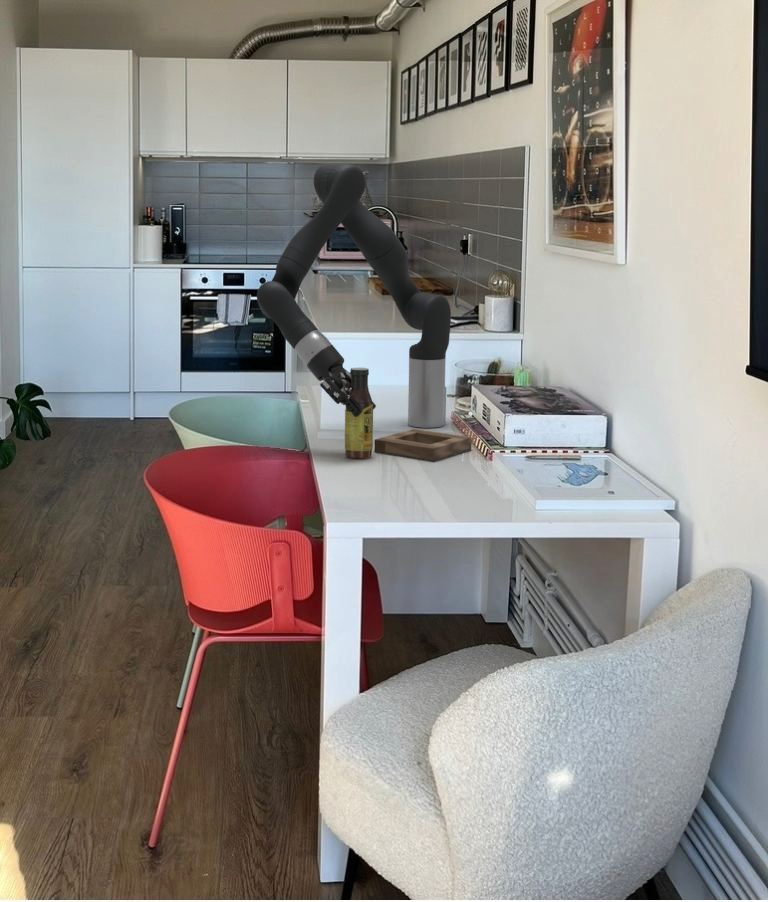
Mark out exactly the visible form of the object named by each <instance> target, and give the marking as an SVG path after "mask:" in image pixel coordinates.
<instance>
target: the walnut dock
mask: <svg viewBox="0 0 768 902" xmlns="http://www.w3.org/2000/svg"><path fill="white" fill-rule="evenodd" d="M472 438H473V437H472V436H465V435H458V434H452V433H444V432H438V431H431V430H425V429H423V430H422V429H418V428H417V429H416V428H411V429H409V430H405V431H401V432H397V433H393V434H389V435H386V436H383V437H379V438H376V439H374V448H373V449H374V453H376V454H383V455H387V456H394V457H402V458H406V459H413V460H419V461H424V462H425V461H426V462H432V463H435V462H438V461H441V460H444V459H447V458H450V457H454V456H457V455H460V454H463V453H466V452H469V451H472V440H473V439H472Z"/></svg>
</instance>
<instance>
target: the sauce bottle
mask: <svg viewBox="0 0 768 902" xmlns="http://www.w3.org/2000/svg"><path fill="white" fill-rule="evenodd" d="M349 372H350V374H351V388H350V389H351V390H350V392H349V393H350V395H351V397H352V398H353V399H354V400H355V402H356V403H357V404H358V405H359V406H360V408H361V409H362V413H361V414H360V415H359V416H357V417H355V416H354V415H353V414H352V413H351V412H350V411H349V409H348V408H347V407H346V406H345V409H344V455H345V457H346V458H349V459H357V460H358V459H359V460H361V459H362V460H363V459H368V458H371V457H372V452H373V449H374V447H373V442H374V441H373V439H374V437H373V436H374V409H373V402H374V401H373V399H372V397H371V393H370V391H369V390H370V389H369V390H368V388H369V382H368V381H369V375H370V374H369V373H370V371H369V368H366V367H351V368H350V371H349ZM352 398H351V399H352ZM372 401H373V402H372Z"/></svg>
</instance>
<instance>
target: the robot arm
mask: <svg viewBox="0 0 768 902" xmlns="http://www.w3.org/2000/svg"><path fill="white" fill-rule="evenodd" d="M313 176H314V177H313V187H314V191H315V193H316V195H317V197H318V198H319V200H321V202H322V203H323V205H322V206H321V207H320V209H319V210H318V211H317V213H316V214H315V215H314V216H313V217H312V218H311V219H310V220H309V221H308V222H307V223H306V224H305V225H303V226H302V227H301V228H300V229H299V230H298V232H296V233H295V235H294V236H293V237H292V238H291V240H290V241H289V242H288V244H287V246H286V247H285V249H284V251H283V252H282V254H281V256H280V258H279V259H278V262H277V264H276V265H275V273H274V275H273V277H272V279H271V280H269V281H265V282H264V283H262V284H261V285H260V286H259V288H258V289H257V293H256V302H257V304H258V307H259V309H260V311H261V313H262V314H263V315H264V316H265V317H266V318H268V319H271V320H272V321H273V323H274V324H275V325H276V326H277V327H278V329H279V331H280V332H281V334H282V337H284V339H285V340H286V342H288V344H289V345H290V346H291V348H293V350H294V351H295V352H296V354H297V355H298V357H299V359H300V360H301V362H302V363H303V364H304V365H305V366H306V368H307V369H308V370H309V371H310V373H312V375H313V376H314V377H315V379H316V380H317V381H319V382H321V383H319V386H320V387H321V388H322V390H324V392H325V393H326V394H327V395H328V396H329V397H330V398H331V399H332V401H334V402H335V403H336V404H337V405H339V404H341V406H342V405H343V406H345V408H346V407H347V408H348V409H349V411H350V412H351V413H352V414H353V415H354V416H355V417H357V416H359V415H360V414H361V413H362V409H361V408H360V406H359V405H358V404H357V403H356V402H355V400H354V399H353V398H352V397H351V395H350V393H349V392H350V390H351V374H350V371H348V370H347V369H345V367H344V363H345V358H344V357H343V355H342V354H341V353H340V352H339V350H337V348H336V347H335V346H334V345H333V344H332V343H331V342H330V340H329V338H327V337H326V335H325V334H323V333H322V332H321V331H320V330H319V329H318V328H317V326H316V325H315V324H314V323H313V322H312V320H311V319H310V318H309V317H308V316H307V315H306V314H305V313H304V311H302V309H301V307H300V305H299V304H298V302H296V297H297V295H298V292H299V290H300V288H301V284H303V283H302V282H303V281H304V279H305V278H306V277H307V275H308V273H309V271H310V269H311V268H312V266H313V264H314V263H315V261H316V259H317V257H318V255H319V254H320V252H321V251H322V250H323V248H324V246H325V244H326V243H327V242H328V240H329V239H330V238H331V236H332V235H333V234H334V233H335V231H336V230H337V229H338V227H339V226H340V225H342V226H343V227H344V229H345V231H346V232H347V234H348V236H349V237H350V238H351V240H352V241H353V242H354V244H355V245H356V247H357V248H358V250H359V251H360V252H361V254H362V256H363V257H364V260H366V262H367V263H368V265H370V267H371V269H372V270H373V271H374V272H375V274H376V275H377V277H378V278H379V279H380V281H381V283H382V284H383V286H384V287H385V288H386V290H387V291H388V293H389V295H390V296H391V298H392V300H393V302H394V303H395V305H396V307H397V309H398V310H399V313H400V315H401V317H402V318H403V319H404V322H405V323H406V324H407V325H408V326H409V327H410V328H413V329H415V330H419V331H421V336H420V337H421V338H420V340H419V341H418V342H417V343H414V344H411V346H410V347H409V351H408V394H407V395H408V397H407V399H408V400H407V401H408V402H407V405H408V406H407V424H408V426H410V427H414V428H424V429H427V428H440V427H443V426H444V425H445V424H446V418H447V417H446V415H447V387H446V360H447V359H446V357H447V354H446V353H447V350H448V348H449V345H450V332H451V321H452V312H451V311H452V310H451V304H450V302H449V301H448V299H447V298H446V297H445V296H443V295H441V294H435V293H434V294H433V293H425V292H422V291H421V290H420V289H419V287H418V286H417V285H416V284H415V282H414V281H413V279H412V278H411V276H410V273H409V260H408V253H407V251H406V248H405V246H404V245H403V244H402V242H401V241H400V239H399V237H398V236H397V235H396V233H395V231H393V229H392V228H391V227H390V226H389V225H388V224H386V222H385V221H383V220H382V219H381V218H380V217H378V216H377V215H376V214H375V213H373V212H372V211H371V210H370V209H368V208H367V207H366V206H365V205H364V204H363V202H362V201H361V198H362V197H363V195H364V192H365V190H366V186H367V182H366V177H365V176H366V175H365V173H364V172H363V170H362V169H361V168H360V167H358V166H357V165H354V164H351V163H350V164H349V163H338V162H334V163H333V162H332V163H325V164H322V165H320V166H319V167H318V168H317V169H316V170H315V173H314V175H313ZM368 390H370V388H369V387H368ZM351 398H352V399H351ZM372 402H373V410H375V409H376V408H377V404H375V402H374V401H373V400H372Z"/></svg>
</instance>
